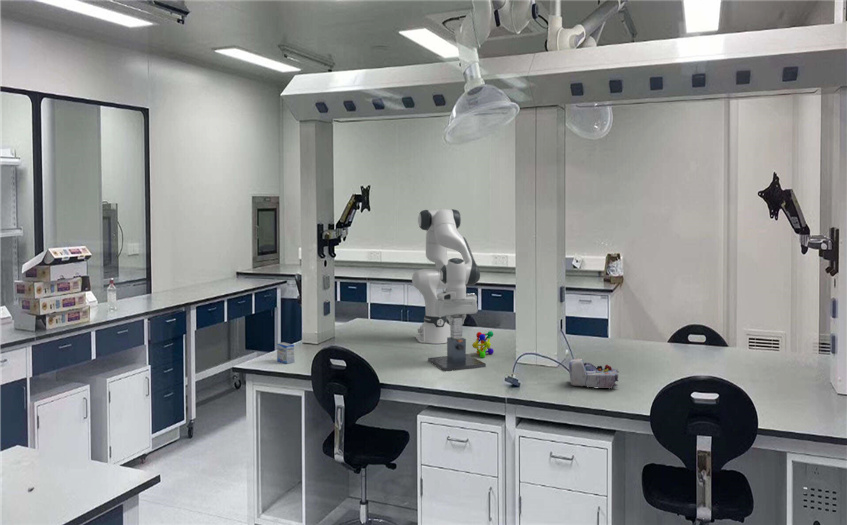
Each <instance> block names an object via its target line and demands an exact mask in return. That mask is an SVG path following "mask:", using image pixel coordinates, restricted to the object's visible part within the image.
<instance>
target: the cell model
mask: <svg viewBox="0 0 847 525" xmlns="http://www.w3.org/2000/svg"><path fill="white" fill-rule="evenodd" d="M568 364H569V365H568V370H569V371H568V372H569V374H568V375H569V380H570V385H572V386H575V387H576V386H577V387H583V386H588V387H587V388H589V387H598V388H611V389H612V388H613V387H614V386H615V387H617V386H618V384H617V383H616V382H619V373H620V371H619V369H617V368H612V366H611V365H609V364H605V366H604V367H603V365H597V366H595V365H594V364H592V363H591V362H585V361H584V360H583V359H582V358H574V359H571V360H570V361H569V363H568Z"/></svg>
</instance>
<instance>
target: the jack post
mask: <svg viewBox="0 0 847 525" xmlns="http://www.w3.org/2000/svg"><path fill="white" fill-rule="evenodd" d="M450 319H451V320H452V321H453V325H450V337H451V339H453V340H457V339H462V338H463V324H462V315H451V318H450Z"/></svg>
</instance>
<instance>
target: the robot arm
mask: <svg viewBox="0 0 847 525" xmlns="http://www.w3.org/2000/svg"><path fill="white" fill-rule="evenodd" d="M417 223H418V226H419V227H418V228H420V230H423V231H426V234H425V257H426V259H427V260H429V261H430V262H432V263H434V264H435V268H421V269H419V270H416V271H414V272H413V274H412V277H411V283H412V285H413V287H414V288H415V289H416V290H417V291H419V292H420V293H421V295H422V297H423V299H424V305H425V306H424V307H425V308H424V309H425V315H424V318H423V321H424V322H423V323H422V324H421V325H420V326H419V328H417V333H418V334H416V335H415V336H414V338H415V337H416V338H415V339H416V340H417V342H418V343H421V344H432V345H433V344H439V345H440V344H447V337H451V325H453V321H452V320H451V316H452V315H460V316H462V325H464V324H465V323H464V322H465V319H466V318H467V315H472V314H477V312H478V303H477V301H478V296H477V294H475V293H474V292H473V293H467V286H466V285H468V286H475V285H476V284H477V283H478V282H479V281H480V279H481V272H480V269H479V266H478V264H477V263H476V260H475V258H474V256H473V254H472V251H471V247H470V245H469V243H468V240H467V239H466V237H464V236H462V234H460V232H459V231H458V229H459V228H460V226H461V223H462V216H461V212H460V211H459V210H457V209H453V208H452V209H448V208H437V209H435V208H434V209H424V210H421V211H420V212H419V215H418V217H417ZM448 249H450V250H453V251H455V252H458V253H460V255H461V256H462V258H459V257H458V258H457V257H454V258H449V257H448ZM448 258H449V259H448ZM443 289H444V290H443ZM445 289H446V290H445ZM437 290H442V291H440V292H438V293H437Z"/></svg>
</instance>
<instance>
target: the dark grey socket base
mask: <svg viewBox="0 0 847 525" xmlns="http://www.w3.org/2000/svg"><path fill="white" fill-rule="evenodd" d="M466 341H467V339H466V338H464V337H462V339H457V340H453V339H451V336H450V337H447V343H446V345H447V346H446V352H447V354H446V355H445V356H435V357H434V356H433V357H428V358H427V362H429V363H430V362H431V364H432V363H433V364H432V365H434V366H435V365H436V368H439V369H440V368H441V370H442V371H444V372H451V371H452V370H453V371H459V370H461V371H462V370H463V371H464V370H471V369H479V368H486V367H487V365H486V363H485V362H483V361H482V360H480V359H477V358H475V357H474V356H472V355H469V354H468V353H467V351H466V348H467V347H466V345H467V344H466V343H467V342H466Z"/></svg>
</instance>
